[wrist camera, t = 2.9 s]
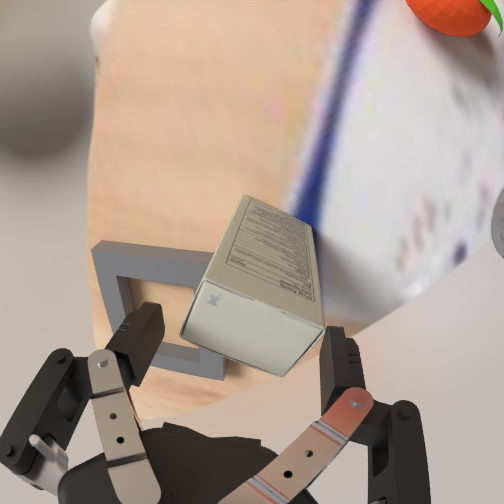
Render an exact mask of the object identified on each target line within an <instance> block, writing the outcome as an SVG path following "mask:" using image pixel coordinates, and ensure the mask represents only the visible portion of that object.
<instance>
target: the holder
mask: <svg viewBox="0 0 504 504" xmlns="http://www.w3.org/2000/svg"><path fill="white" fill-rule="evenodd" d="M91 252H92V256H93V261H94V265H95V270H96V274H97V278H98V282H99V286H100V290H101V294H102V297H103V301H104V305H105V308H106V312H107V315H108V318H109V322H110V325H111V328H112V331H113V334H115V332H116V331H117V329H118V328H119V326H120V325H121V324H122V322H123V320H124V319H125V317H126V316H127V315H128V314H129V313H131V312H132V311H134V310H135V309H134V305H133V300H132V295H131V291H130V286H129V281H128V277H129V278H135V279H141V280H147V281H153V282H160V283H166V284H173V285H180V286H186V287H193V288H194V296H195V294H196V291H197V289H198V287H199V285H200V283H201V281H202V278H203V276H204V274H205V272H206V270H207V268H208V266H209V263H210V261H211V259H212V257H213V255H214V253H208V252H199V251H190V250H181V249H173V248H164V247H155V246H146V245H138V244H129V243H120V242H112V241H103V240H102V241H100V242H99V243H98V244H97V245H96V246H94V247H93V248H92V249H91ZM150 366H154V367H158V368H162V369H167V370H171V371H175V372H180V373H185V374H189V375H194V376H199V377H205V378H210V379H216V380H221V381H224V378H225V374H226V370H227V358H225V357H223V356H220V355H218V354H215V353H213V352H211V351H208V350H206V349H204V348H201V347H199V349H195V348H189V347H184V346H179V345H174V344H169V343H165V342H161V344H160V346H159V348H158V350H157V352H156V354H155V356H154V358H153V360H152V362H151V364H150Z"/></svg>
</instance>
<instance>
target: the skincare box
mask: <svg viewBox="0 0 504 504" xmlns="http://www.w3.org/2000/svg"><path fill="white" fill-rule="evenodd" d="M325 331H326V329H325V320H324V311H323V304H322V296H321V288H320V281H319V274H318V266H317V260H316V253H315V246H314V240H313V234H312V228H311V226H310V225H308V224H306V223H304V222H303V221H301V220H299V219H297V218H295V217H293V216H291V215H289V214H287V213H285V212H283V211H280V210H278V209H276V208H274V207H272V206H270V205H267V204H265V203H263V202H261V201H258V200H256V199H254V198H251V197H249V196H247V195H243V196H242V198H241V200H240V202H239V204H238V206H237V208H236V210H235V212H234V214H233V216H232V218H231V220H230V222H229V224H228V226H227V228H226V230H225V232H224V234H223V236H222V238H221V240H220V242H219V244H218V246H217V249H216V251H215V253H214V255H213V257H212V259H211V261H210V263H209V266H208V268H207V270H206V272H205V274H204V276H203V278H202V281H201V283H200V285H199V287H198V289H197V291H196V294H195V296H194V298H193V300H192V303H191V305H190V307H189V310H188V312H187V315H186V317H185V320H184V323H183V326H182V329H181V332H180V337H181V338H182V339H184V340H186V341H188V342H190V343H192V344H194V345H197V346H199V347H201V348H204V349H206V350H208V351H211V352H213V353H215V354H218V355H220V356H223V357H225V358H228V359H230V360H233V361H236V362H238V363H241V364H244V365H247V366H249V367H252V368H255V369H258V370H261V371H264V372H267V373H270V374H273V375H276V376H279V377H284V376H285V375H286V374H287V373H288V372H289V371H290V370H291V369H292V368H293V367H294V366H295V365H296V364H297V363H298V362H299V361H300V360H301V359H302V358H303V357H304V356H305V355H306V354H307V353H308V352H309V351H310V349H311V348H312V347H313V346H314V345H315V344H316V343H317V342H318V340H319V339H320V338H321V337H322V336H323V335H324V333H325Z"/></svg>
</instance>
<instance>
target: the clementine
mask: <svg viewBox="0 0 504 504" xmlns="http://www.w3.org/2000/svg"><path fill="white" fill-rule="evenodd" d="M406 2H407V4H408V6H409V7H410V8H411V10H412V11H413V12H414V14H415V15H416V16H417V17H418V18H419V19H421V20H422V21H423V22H424V23H425V24H427V25H428V26H430V27H431V28H433V29H435V30H438V31H440V32H442V33H445V34H448V35H452V36H471V35H474V34H476V33H478V32H480V31H482V30H483V29H484V28H485V27H486V26H487V25H488V23H489V21H490V19H491V15H492V14H493V15H494V17H495V18H496V20H497V22H498V23H499V25H500V29H501V32H502V30H503V22H502V18H501V15H500V12H499V10H498V8H497V6H496V4H495V2H494V1H493V0H406ZM500 34H501V33H500ZM499 36H500V35H499Z"/></svg>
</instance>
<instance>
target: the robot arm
mask: <svg viewBox="0 0 504 504" xmlns="http://www.w3.org/2000/svg"><path fill="white" fill-rule="evenodd" d="M492 239H493V243H494V246H495V248H496V250H497V252H498V253H499V254H500V255H501V256H502V257H503V258H504V189H503V191H502V192H501V194H500V196H499V198H498V200H497V203H496V206H495V209H494V214H493V219H492ZM164 333H165V325H164V319H163V313H162V307H161V305H160V304H158V303H152V302H144V304H143V305H142V307H141V308H140V310H134V311H132V312H131V313H129V314H128V315H127V316H126V317H125V319H124V320H123V322H122V324H121V325H120V326H119V328H118V329H117V331H116V332H115V334H114V335H113V337H112V338H111V340H110V341H109V343H108V344H107V346H106V347H105V349H101V350H97V351H95V352H93V353H92V354H91V355H90V356H89V357H74V356H73V354H72V352H71V351H70V350H68V349H65V348H60V349H57V350H55V351H53V352H52V353H51V354H50V355H49V357H48V358H47V360H46V361H45V363H44V364H43V366H42V367H41V369H40V370H39V372H38V374H37V375H36V377H35V378H34V380H33V381H32V383H31V385H30V386H29V388H28V389H27V391H26V393H25V395H24V396H23V398H22V399H21V401H20V403H19V405H18V406H17V408H16V410H15V412H14V413H13V415H12V417H11V418H10V420H9V422H8V424H7V426H6V428H5V429H4V431H3V433H2V435H1V437H0V462H1V463H2V464H3V465H4V466H6V467H7V468H8V469H9V470H10V471H11V472H12V473H14V474H15V475H16V476H18V477H19V478H21V479H22V480H23V481H25V482H26V483H29V484H30V485H32V486H33V487H35V488H37V489H39V490H46V491H49V492H50V493H52V494H54V495H56V496H58V502H59V504H318V503H317V501H315V499H314V498H313V497H312V496H311V494H310V493H309V492H308V490H307V488H308V487H309V486H310V485H311V484H312V483H313V482H314V481H315V480H316V479H317V478H318V477H319V476H320V475H321V473H322V472H323V471H324V470H325V469H326V468H327V466H328V465H329V464H330V463H331V462H332V461H333V459H334V458H335V457H336V456H337V455H338V454H339V453H340V451H341V450H342V449H343V448H344V447H345V445H346V444H347V443H348V442H349V441H352V442H356V443H359V444H363V445H366V446H368V504H431V496H430V483H429V473H428V464H427V456H426V448H425V442H424V435H423V429H422V423H421V417H420V412H419V409H418V408H417V406H416V405H415V404H413V403H412V402H410V401H407V400H400V401H398V402H396V403H395V404H393V406H392V405H388V404H385V403H381V402H378V401H376V400H374V399H373V397H372V395H371V394H370V393H369V392H368V391H367V390H366V386H365V380H364V375H363V369H362V364H361V357H360V352H359V348H358V345H357V344H356V342H355V341H354V339H353V338H345V332H344V328H343V327H339V326H327V329H326V332H325V336H324V339H323V343H322V346H321V350H320V358H319V362H320V383H321V384H320V386H321V416H322V417H321V418H320V419H319V420H318V421H315V422H313V423H312V424H311V425H310V426H309V427H308V428H307V429H306V430H305V431H304V432H303V433H302V434H301V435H300V436H299V437H298V438H297V439H296V440H295V441H294V442H293V443H292V444H291V445H289V446H288V447H287V448H286V449H285V450H284V451H283V452H282V453H281V454H280V455H277V454H276V453H275V452H273V451H272V450H270V449H268V448H266V447H263V446H260V445H261V440H260V439H251V438H243V437H219V438H218V437H217V438H210V437H207V436H205V435H203V434H200V433H198V432H196V431H194V430H192V429H190V428H187V427H183V426H179V425H175V424H171V423H167V422H164V424H163V427H162V428H152V429H147V430H143V428H142V426H141V423H140V421H139V418H138V415H137V413H136V410H135V407H134V404H133V401H132V398H131V395H130V392H129V389H130V387H131V385H134V386H137V387H139V386H140V384H141V382H142V380H143V378H144V376H145V374H146V372H147V370H148V368H149V366H150V364H151V362H152V360H153V358H154V356H155V354H156V352H157V350H158V348H159V346H160V344H161V342H162V340H163V337H164ZM89 399H91V400H92V405H93V410H94V414H95V418H96V423H97V427H98V431H99V435H100V438H101V442H102V446H103V449H104V452H103V453H101V454H99V455H97V456H95V457H93V458H91V459H89V460H87V461H85V462H84V463H81V464H79V465H77V466H75V467H73V468H71V469H70V470H68V456H67V454H66V452H65V451H66V448H67V446H68V444H69V442H70V439H71V437H72V435H73V433H74V430H75V428H76V426H77V424H78V422H79V419H80V417H81V415H82V413H83V411H84V409H85V407H86V405H87V403H88V401H89ZM67 470H68V471H67Z"/></svg>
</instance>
